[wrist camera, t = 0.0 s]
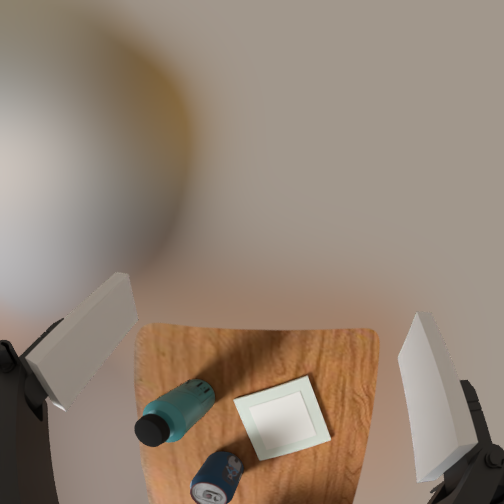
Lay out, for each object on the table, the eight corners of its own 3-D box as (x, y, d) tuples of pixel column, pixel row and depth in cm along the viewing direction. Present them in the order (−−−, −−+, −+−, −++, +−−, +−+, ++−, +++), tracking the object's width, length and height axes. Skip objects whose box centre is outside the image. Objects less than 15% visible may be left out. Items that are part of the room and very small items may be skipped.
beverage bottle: (222, 382, 46) (177, 422, 27) (213, 415, 45) (167, 465, 26) (188, 370, 48) (127, 398, 28) (180, 402, 47) (121, 442, 27)
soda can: (204, 470, 43) (182, 502, 32) (212, 443, 44) (190, 473, 33) (239, 481, 42) (225, 516, 30) (249, 455, 43) (235, 489, 31)
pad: (330, 438, 42) (331, 440, 41) (260, 458, 42) (259, 461, 42) (307, 375, 45) (307, 376, 44) (234, 398, 46) (233, 400, 45)
